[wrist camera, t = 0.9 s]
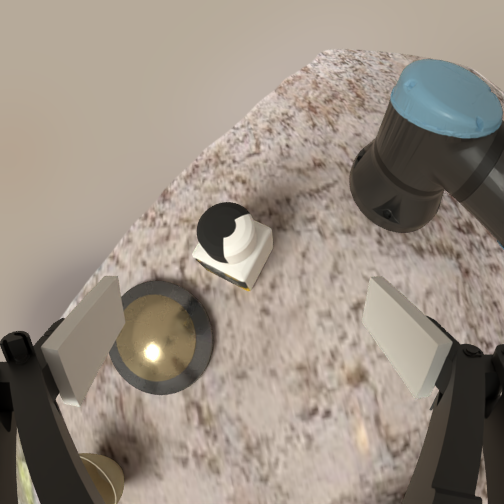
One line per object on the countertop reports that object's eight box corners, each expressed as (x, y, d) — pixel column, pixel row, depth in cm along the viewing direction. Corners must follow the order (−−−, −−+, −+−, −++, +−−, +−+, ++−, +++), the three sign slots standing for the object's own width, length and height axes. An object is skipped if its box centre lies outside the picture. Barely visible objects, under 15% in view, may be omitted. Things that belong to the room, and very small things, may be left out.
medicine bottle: (204, 269, 42) (177, 241, 30) (229, 225, 43) (211, 185, 32) (250, 292, 40) (238, 272, 29) (274, 246, 42) (271, 210, 30)
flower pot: (84, 435, 36) (58, 444, 29) (138, 455, 34) (115, 471, 28) (86, 482, 33) (63, 495, 26) (137, 503, 32) (117, 522, 25)
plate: (198, 269, 42) (195, 267, 40) (226, 382, 37) (224, 384, 36) (102, 296, 42) (97, 295, 41) (123, 399, 37) (118, 401, 36)
